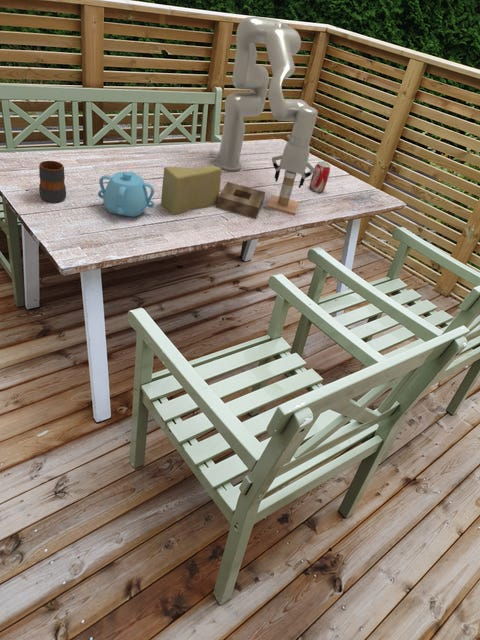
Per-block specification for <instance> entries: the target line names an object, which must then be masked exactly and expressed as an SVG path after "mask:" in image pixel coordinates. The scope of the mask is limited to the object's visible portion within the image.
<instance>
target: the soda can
mask: <svg viewBox="0 0 480 640" xmlns="http://www.w3.org/2000/svg"><path fill="white" fill-rule="evenodd" d="M314 168H315V171H314V172H313V173H312V174H311V178H310V182H309V188H310V190H311V191H313V192H315V193H322V192H324V191H325V188H326V185H327V183H328V179H329V176H330V174H331V173H330V172H331V165H330V164H329V163H328V162H325V161H318V162H317V164H316V165H315V166H314Z"/></svg>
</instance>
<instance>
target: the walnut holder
mask: <svg viewBox="0 0 480 640" xmlns="http://www.w3.org/2000/svg"><path fill="white" fill-rule="evenodd" d="M265 196H266V192H265V191H263V190H259V189H255V188H252V187H248V186H245V185H241V184H237V183H233V182H229V181H226V183H225V185H224V187H223V188H222V190H220V192H219V196H218V199H217V204H216V205H215V206H216V208H217V209H221V210H225V211H228V212H231V213H236V214H238V215H239V214H240V215H242V216H245V217H246V216H247V217H250V218H253V219H257V217H258V215H259V212H260V211H261V207H262V205H263V204H264V200H265Z"/></svg>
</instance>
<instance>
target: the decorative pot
mask: <svg viewBox="0 0 480 640" xmlns="http://www.w3.org/2000/svg"><path fill="white" fill-rule="evenodd" d="M104 179H105V180H106V179H107V180H108V182H107V185H106V186H104ZM99 187H100V190H99V191H98V193H97V196H98V197H99V198H100V199H102V200H103V205H104V207H105V208H106V210H108V212H109V213H111V214H115V215H121V216H125V217H131V218H136V217H137V216H139V215H142V213H143V212H144V211H145V210H146V209H147V208H149V209H150V208H153V207H154V206H155V202H154V200H152V198H153V196H154V194H155V188H154V186H153V185H152V184H151V183H149V182H145V181H144V178H143V177H142V176H140V175H139V174H136V173H135V171H131V170H130V171H118V172H115V173H114V174H113V175H108V174H104V175H102V176H101V177H100V178H99ZM147 188H149V189H150V194H149V193H148V189H147ZM148 194H149V195H148Z"/></svg>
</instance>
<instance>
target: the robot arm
mask: <svg viewBox="0 0 480 640" xmlns="http://www.w3.org/2000/svg"><path fill="white" fill-rule="evenodd" d="M236 29H237V30H236V35H235V37H236V45H235V46H236V51H235V57H234V58H235V59H234V62H233V63H234V64H233V71H232V72H233V73H232V84H233V86H234V88H236V89H238V90H249V91H250V92H246V91H245V92H242V91H234V92H232V93H229V94H228V95H227V96H226V98H225V102H224V121H223V128H222V135H221V139H220V141H221V142H220V147H219V151H218V152H215V151H210V152H209V157H210V158H213V159H214V162H213V163H214V166H217V167H219V168H220V169H221V170H224V171H229V172H231V171H232V172H235V171H240V170H241V169H242V163H241V162H240V157H241V153H242V147H243V145H244V143H243V142H244V137H245V132H246V124H245V121H244V118H245V117H246V118H247V117H249V118H251V117H258V116H260V115H261V114H262V113H263V111H264V108H265V104H266V99H268V104H269V107H270V111H271V114H272V116H273V117H274V119H275V120H277V121H279V122H283V121H284V122H294V123H293V126H292V130H291V134H287V135H286V139H288V141H286V144H285V146H284V149H283V152H282V154H280V155H277V156H272V158H271V161H272V162H271V163H272V166H273V168H274V169H275V175H274V179H275V182H278V180H279V176H280V173H281V170H284V171H286V170H287V171H291V172H295V173H296V174H298V175H299V174H300V175H301V178H300V182H299V184H298V188H299V189H301V187H302V186H304V183H305V180H306V179H308V177H310V176H312V175H313V172H314V171H315V166H314V167H313V166H312V164H310V163H309V162H308V161H309V158H310V150H311V147H310V142H311V140H312V136H313V132H314V128H315V125H316V122H317V118H318V115H319V114H318V112H319V111H318V110H317V109H316V108H315V107H313V106H310V105H309V104H308V103H307V102H306V101H305V100H303V99H300V98H299V99H298V98H284V95H283V89H282V85H283V81H284V80H286V79H287V78H289V77H291V76H292V75H293V74H294V73H295V70H296V67H295V63H294V59H293V56H294V55H296V54H297V53H298V52H300V49H301V45H302V40H301V37H300V34H299V32H298V31H297V30H296V29H294V28H293V27H291V26H289V25H288V24H286V23H284V22H282V21H280V20H278V19H271V18H266V17H259V16H258V17H257V16H248V17H245V18H242V19H241V21H240V22H239V24H238V26H237V28H236ZM255 44H264V45H265V48H266V52H267V57H268V60H269V64H270V69H271V73H272V78H271V80H270V76H269V71H268V70H267V68H266V67H265V66H264V65H262V64H256V63H257V58H258V51H257V47H256V45H255ZM277 161H280V163H279V164H278V162H277ZM307 168H308V170H309V171H307V172H306V169H307Z"/></svg>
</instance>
